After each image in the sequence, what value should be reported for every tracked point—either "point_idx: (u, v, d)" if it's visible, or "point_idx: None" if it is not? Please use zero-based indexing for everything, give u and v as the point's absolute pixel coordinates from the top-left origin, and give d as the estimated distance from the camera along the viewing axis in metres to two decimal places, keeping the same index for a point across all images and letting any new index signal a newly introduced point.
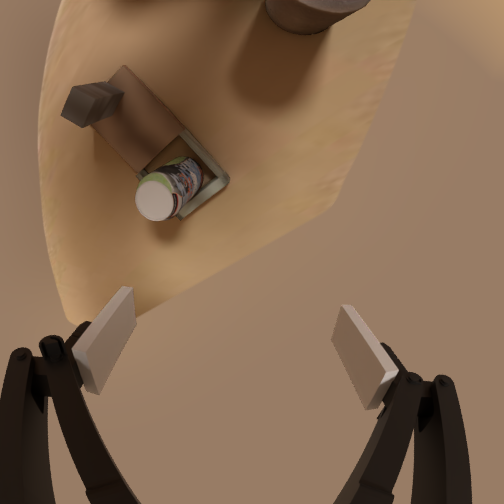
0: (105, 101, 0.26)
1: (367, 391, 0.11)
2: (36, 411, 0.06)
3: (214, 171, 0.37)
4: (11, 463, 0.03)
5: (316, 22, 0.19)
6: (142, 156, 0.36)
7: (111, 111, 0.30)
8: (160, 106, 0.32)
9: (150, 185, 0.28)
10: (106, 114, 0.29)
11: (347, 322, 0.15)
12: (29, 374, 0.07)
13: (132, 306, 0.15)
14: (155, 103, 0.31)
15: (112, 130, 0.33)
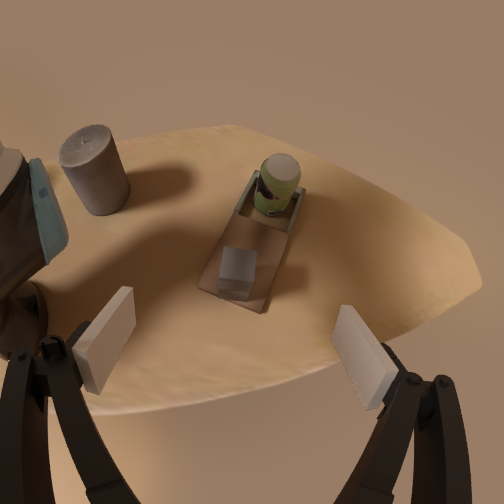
0: None
1: (367, 391, 0.11)
2: (36, 411, 0.06)
3: (253, 180, 0.48)
4: (11, 463, 0.03)
5: None
6: (272, 235, 0.44)
7: None
8: (222, 236, 0.43)
9: (272, 171, 0.37)
10: None
11: (347, 322, 0.15)
12: (29, 374, 0.07)
13: (132, 306, 0.15)
14: (221, 241, 0.42)
15: (262, 270, 0.41)
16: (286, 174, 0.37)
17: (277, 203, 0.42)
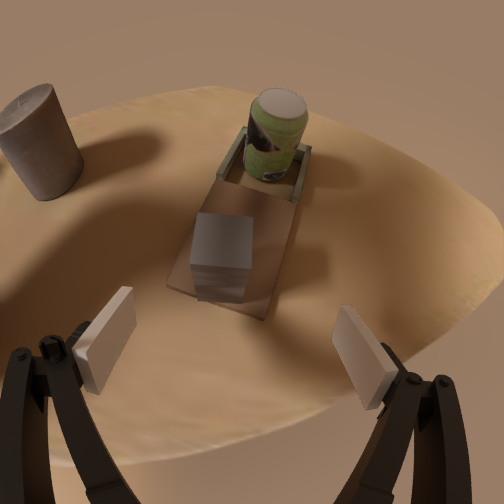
0: None
1: (367, 391, 0.11)
2: (36, 411, 0.06)
3: (240, 137, 0.34)
4: (11, 463, 0.03)
5: (63, 115, 0.24)
6: (273, 205, 0.31)
7: None
8: (201, 210, 0.29)
9: (267, 107, 0.23)
10: None
11: (347, 322, 0.15)
12: (29, 374, 0.07)
13: (132, 306, 0.15)
14: None
15: (262, 255, 0.28)
16: (288, 110, 0.23)
17: (277, 158, 0.28)
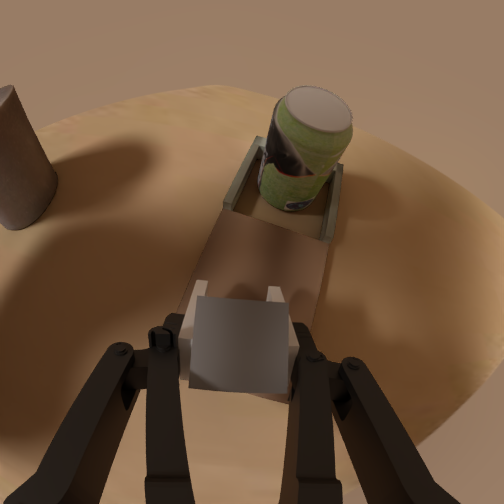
0: None
1: None
2: (120, 408, 0.08)
3: (254, 150, 0.27)
4: (69, 453, 0.05)
5: (29, 123, 0.17)
6: (299, 247, 0.23)
7: None
8: (203, 255, 0.22)
9: (300, 114, 0.16)
10: None
11: (270, 301, 0.17)
12: (124, 371, 0.09)
13: None
14: (201, 266, 0.21)
15: None
16: (329, 120, 0.16)
17: (307, 184, 0.21)
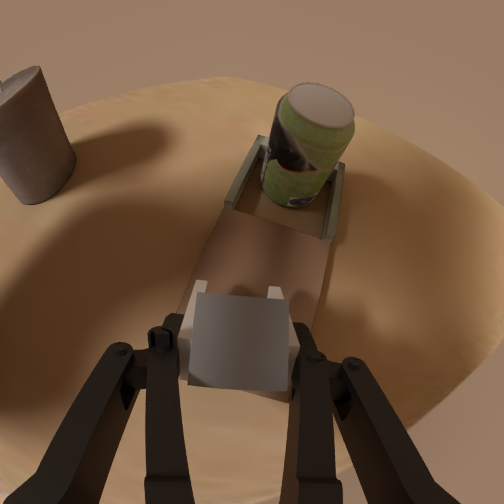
0: None
1: None
2: (119, 408, 0.08)
3: (255, 149, 0.26)
4: (69, 453, 0.05)
5: (52, 102, 0.19)
6: (300, 245, 0.23)
7: None
8: (204, 253, 0.22)
9: (303, 110, 0.16)
10: None
11: None
12: (124, 371, 0.09)
13: None
14: (202, 264, 0.21)
15: None
16: (332, 115, 0.16)
17: (310, 180, 0.21)
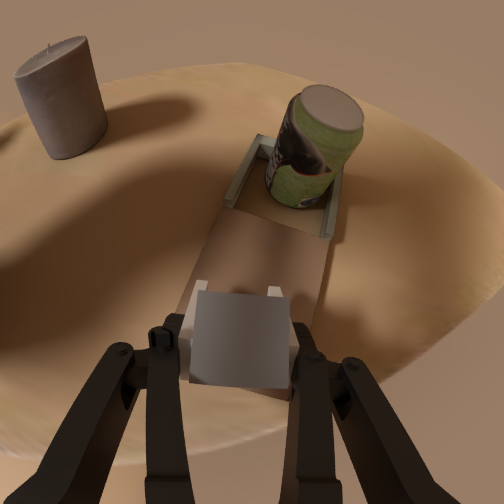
0: None
1: None
2: (120, 408, 0.08)
3: (254, 148, 0.26)
4: (69, 453, 0.05)
5: None
6: (299, 244, 0.23)
7: None
8: (204, 252, 0.22)
9: (320, 115, 0.16)
10: None
11: None
12: (124, 371, 0.09)
13: None
14: (202, 263, 0.21)
15: None
16: (346, 118, 0.16)
17: (323, 181, 0.21)
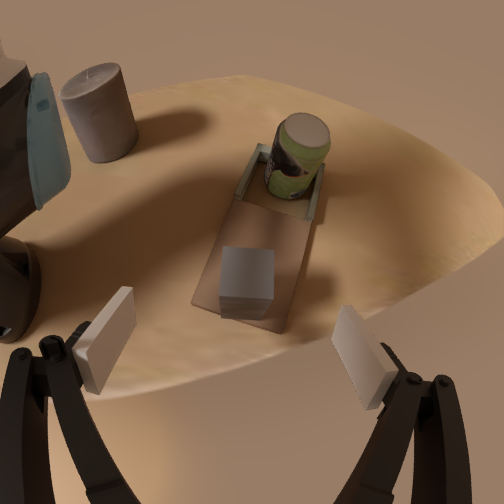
0: None
1: (367, 391, 0.11)
2: (36, 411, 0.06)
3: (256, 155, 0.36)
4: (11, 463, 0.03)
5: None
6: (289, 225, 0.33)
7: None
8: (221, 231, 0.31)
9: (297, 137, 0.25)
10: None
11: (347, 322, 0.15)
12: (29, 374, 0.07)
13: (132, 306, 0.15)
14: (220, 238, 0.31)
15: (280, 274, 0.30)
16: (316, 138, 0.25)
17: (304, 180, 0.30)
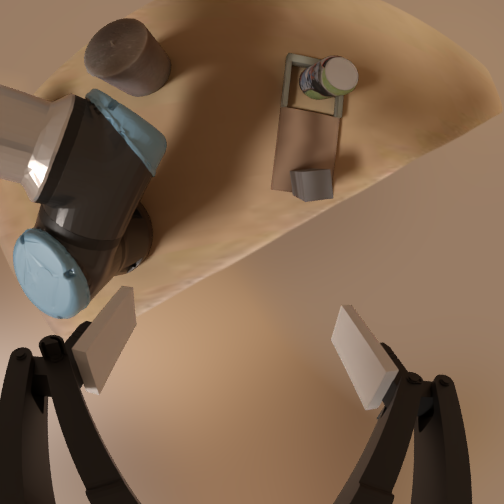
0: None
1: (367, 391, 0.11)
2: (36, 411, 0.06)
3: (290, 66, 0.36)
4: (11, 463, 0.03)
5: None
6: (324, 122, 0.40)
7: None
8: (279, 135, 0.40)
9: (336, 83, 0.29)
10: None
11: (348, 322, 0.15)
12: (29, 374, 0.07)
13: (132, 306, 0.15)
14: (280, 141, 0.41)
15: (323, 160, 0.42)
16: (348, 81, 0.29)
17: None
